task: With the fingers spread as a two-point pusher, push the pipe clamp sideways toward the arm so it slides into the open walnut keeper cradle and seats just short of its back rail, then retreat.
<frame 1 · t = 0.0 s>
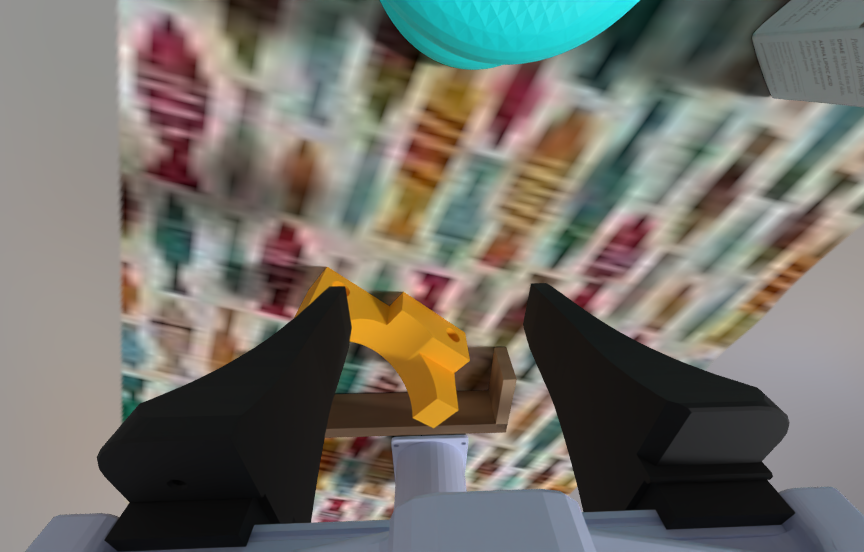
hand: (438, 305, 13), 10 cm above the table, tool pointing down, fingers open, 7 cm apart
pipe clamp: (391, 309, 26), on the table
keeper: (396, 377, 29), on the table
skincare box: (812, 28, 17), on the table
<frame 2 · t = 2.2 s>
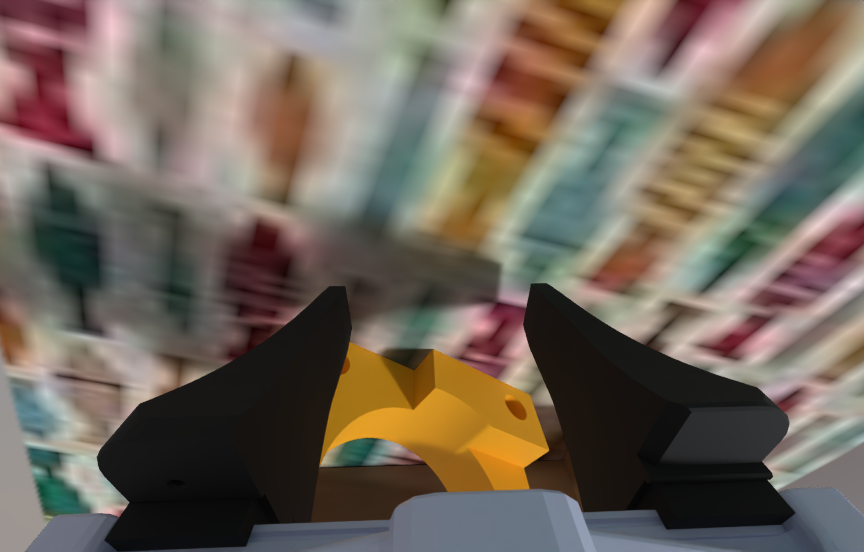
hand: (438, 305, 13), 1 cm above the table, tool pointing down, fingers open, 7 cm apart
pipe clamp: (417, 373, 17), on the table, touching gripper
keeper: (434, 446, 20), on the table
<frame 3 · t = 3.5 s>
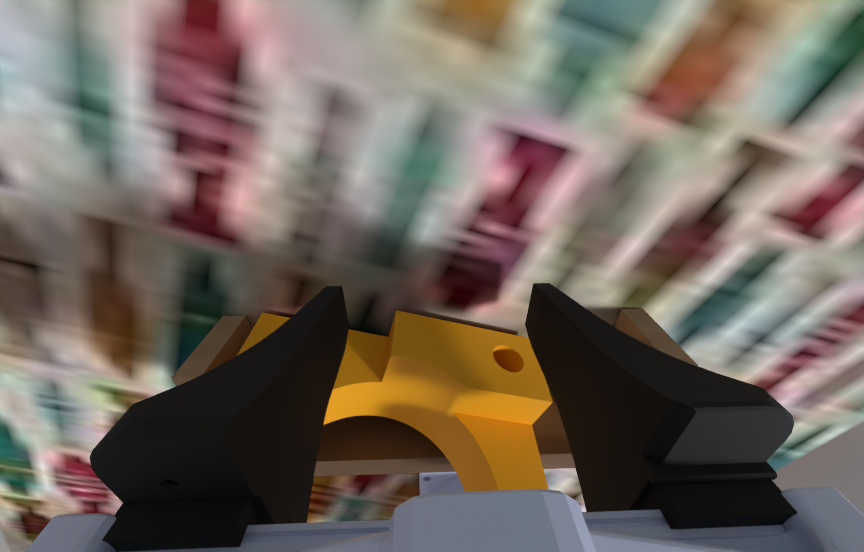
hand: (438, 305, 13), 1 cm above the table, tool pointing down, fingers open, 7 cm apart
pipe clamp: (396, 341, 15), on the table, touching gripper
keeper: (436, 366, 17), on the table
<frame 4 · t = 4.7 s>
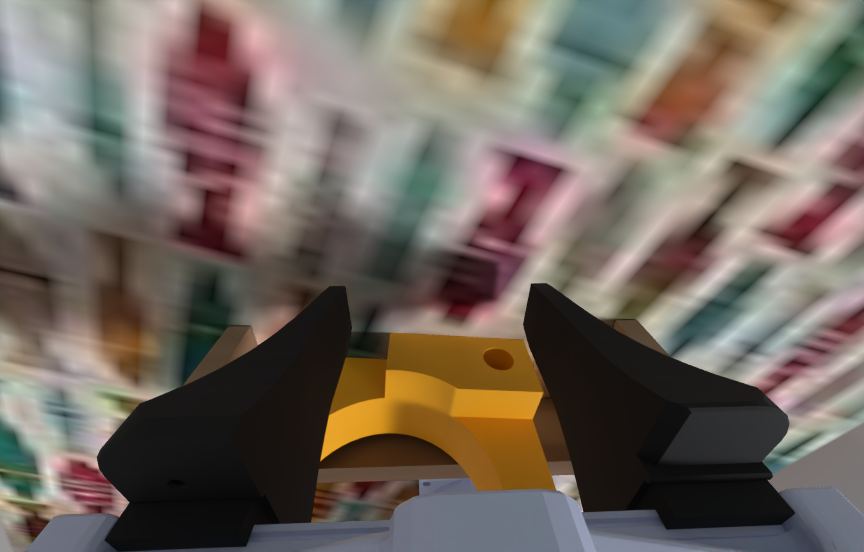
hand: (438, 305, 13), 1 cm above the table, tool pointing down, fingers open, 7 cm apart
pipe clamp: (398, 360, 17), on the table
keeper: (435, 375, 17), on the table
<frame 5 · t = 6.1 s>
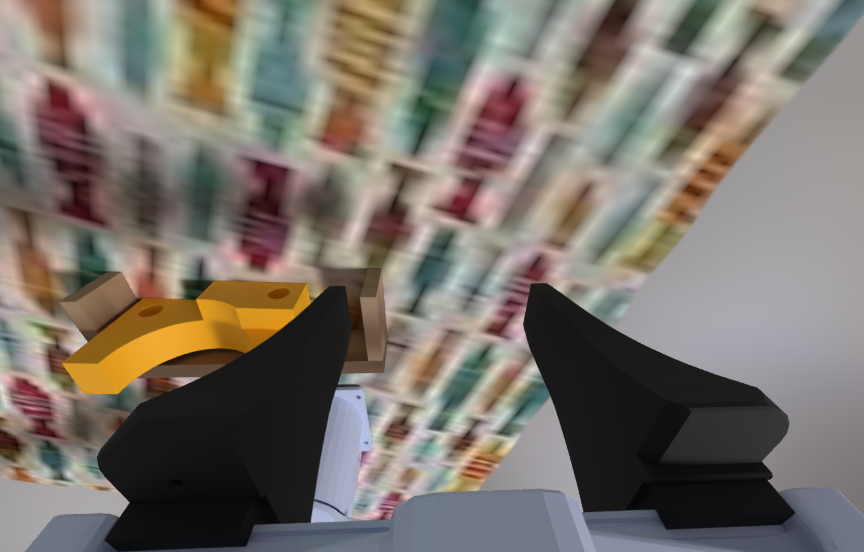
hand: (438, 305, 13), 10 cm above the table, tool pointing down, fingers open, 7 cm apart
pipe clamp: (231, 302, 25), on the table
keeper: (259, 310, 25), on the table
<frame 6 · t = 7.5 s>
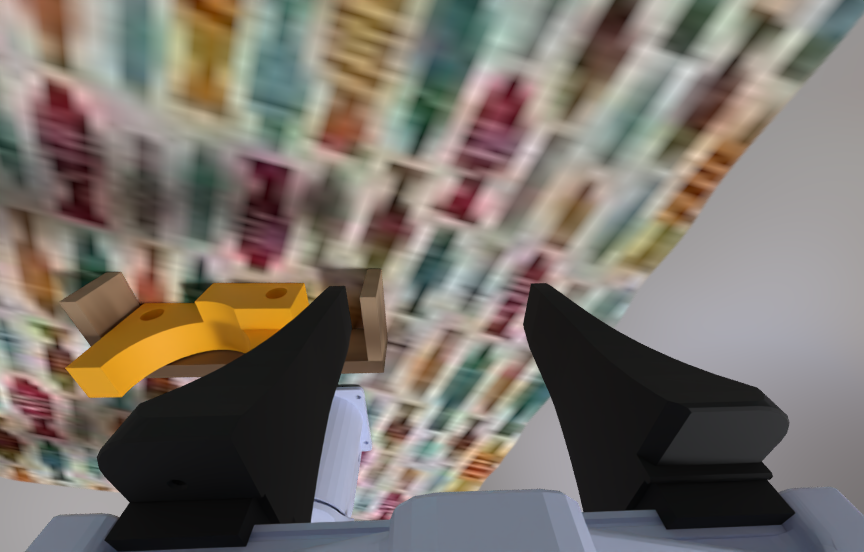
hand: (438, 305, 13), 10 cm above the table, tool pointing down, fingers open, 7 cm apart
pipe clamp: (231, 304, 25), on the table
keeper: (259, 310, 25), on the table
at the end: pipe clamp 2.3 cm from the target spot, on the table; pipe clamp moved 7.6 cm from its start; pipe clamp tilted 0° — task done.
